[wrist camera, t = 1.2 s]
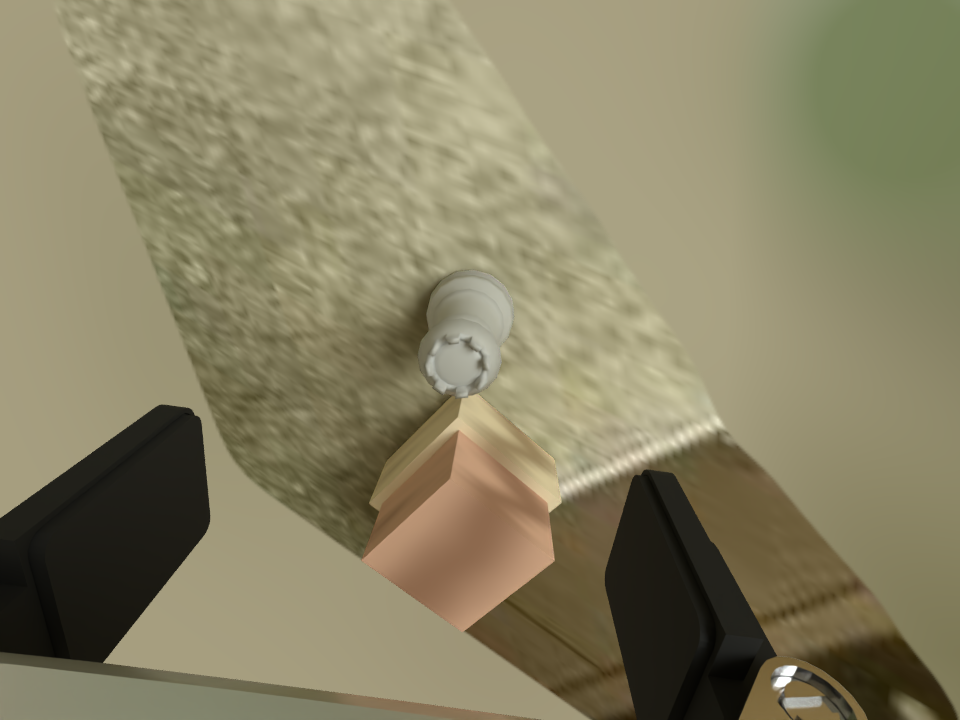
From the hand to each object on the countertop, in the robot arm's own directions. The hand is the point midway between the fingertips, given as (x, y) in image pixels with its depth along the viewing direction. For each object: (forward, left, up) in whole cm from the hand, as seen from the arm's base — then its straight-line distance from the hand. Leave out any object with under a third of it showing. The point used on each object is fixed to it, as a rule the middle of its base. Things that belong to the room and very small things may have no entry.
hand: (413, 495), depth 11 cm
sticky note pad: (-9, -1, -16) cm, 19 cm away
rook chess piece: (0, 0, -16) cm, 16 cm away
